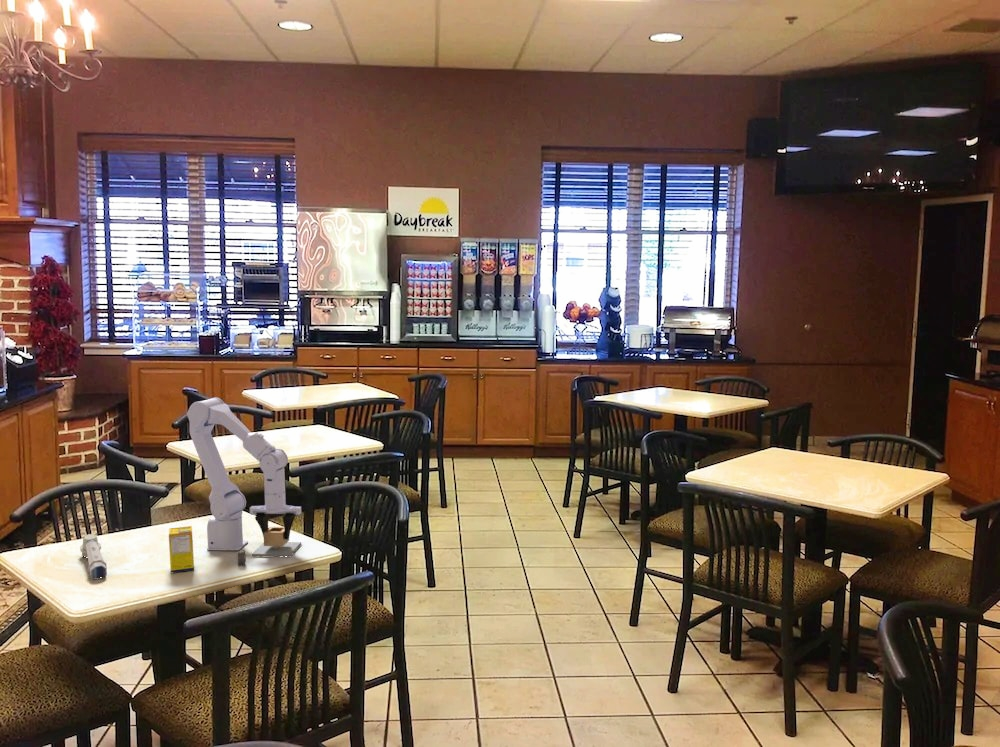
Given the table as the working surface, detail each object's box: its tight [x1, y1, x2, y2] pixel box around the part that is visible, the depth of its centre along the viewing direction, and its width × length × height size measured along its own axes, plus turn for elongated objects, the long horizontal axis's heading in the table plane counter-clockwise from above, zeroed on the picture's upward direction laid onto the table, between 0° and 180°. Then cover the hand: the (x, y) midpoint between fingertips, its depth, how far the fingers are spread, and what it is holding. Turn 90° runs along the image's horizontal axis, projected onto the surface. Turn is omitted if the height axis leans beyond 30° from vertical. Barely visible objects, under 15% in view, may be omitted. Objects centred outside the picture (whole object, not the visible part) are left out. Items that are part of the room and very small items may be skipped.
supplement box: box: [168, 525, 195, 573], centre depth 227 cm, size 6×6×11 cm
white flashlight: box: [79, 533, 108, 579], centre depth 230 cm, size 5×7×25 cm
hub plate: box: [251, 541, 302, 558], centre depth 242 cm, size 11×11×4 cm
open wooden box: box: [262, 526, 290, 546], centre depth 242 cm, size 6×6×4 cm
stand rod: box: [236, 550, 246, 567], centre depth 231 cm, size 2×2×4 cm
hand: (276, 538), depth 242 cm, fingers closed on open wooden box, 5 cm apart
